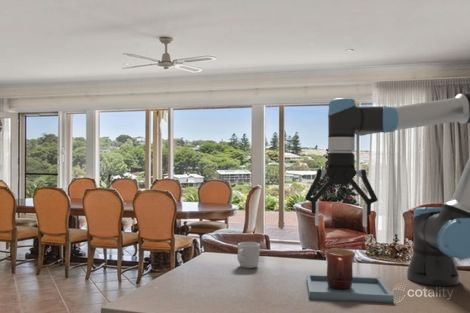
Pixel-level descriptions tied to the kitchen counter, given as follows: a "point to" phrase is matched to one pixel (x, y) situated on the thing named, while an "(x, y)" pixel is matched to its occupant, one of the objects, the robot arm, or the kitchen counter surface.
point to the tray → (350, 290)
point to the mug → (339, 268)
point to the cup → (248, 254)
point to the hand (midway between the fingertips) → (340, 225)
